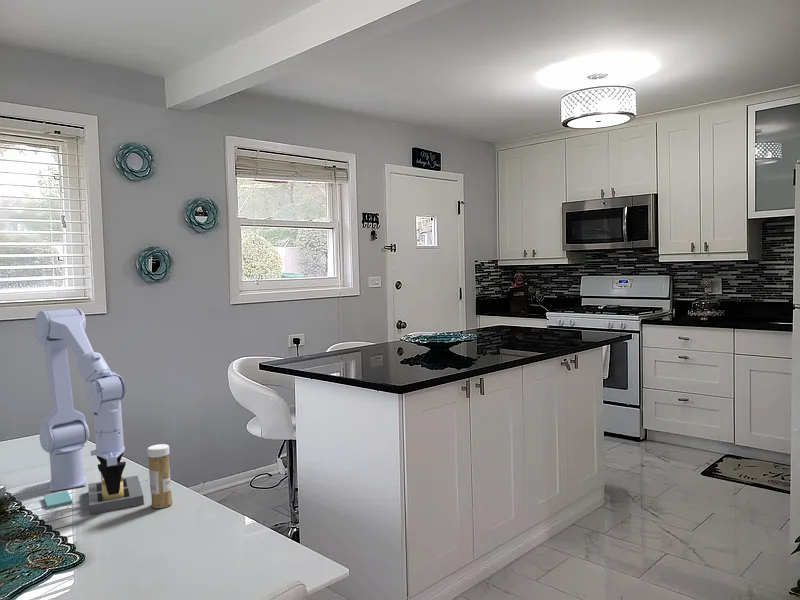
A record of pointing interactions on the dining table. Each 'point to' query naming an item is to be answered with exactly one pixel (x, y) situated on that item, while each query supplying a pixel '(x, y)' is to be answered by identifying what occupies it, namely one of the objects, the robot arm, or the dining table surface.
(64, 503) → the lid plate
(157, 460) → the spice jar
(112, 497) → the beige cylinder with tab
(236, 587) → the dining table surface
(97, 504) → the housing
